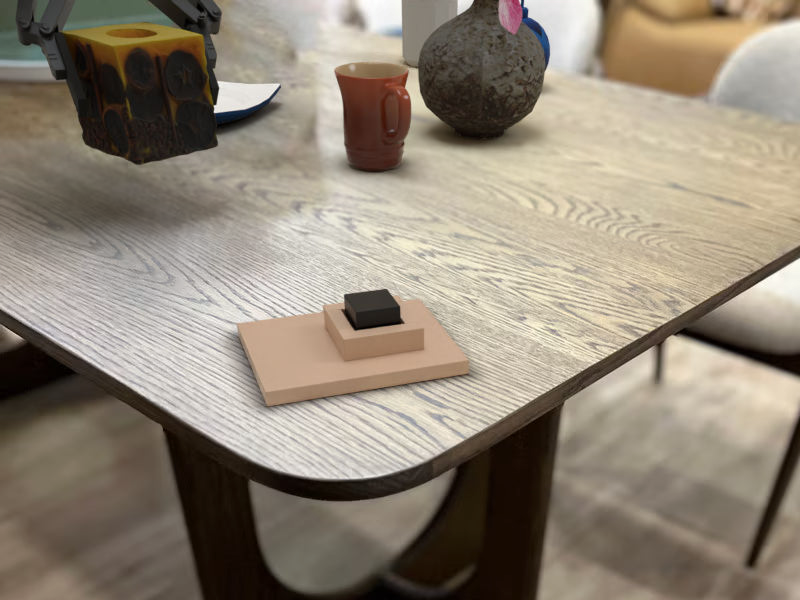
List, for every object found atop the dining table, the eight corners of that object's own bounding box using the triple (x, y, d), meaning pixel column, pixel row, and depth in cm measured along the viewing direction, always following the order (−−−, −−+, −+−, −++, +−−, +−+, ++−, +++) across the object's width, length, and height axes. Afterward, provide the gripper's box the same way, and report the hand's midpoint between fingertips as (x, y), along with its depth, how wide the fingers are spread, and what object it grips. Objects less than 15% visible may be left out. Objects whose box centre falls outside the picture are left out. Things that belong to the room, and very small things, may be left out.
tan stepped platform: (267, 406, 62) (261, 369, 60) (238, 336, 70) (233, 302, 68) (468, 373, 66) (470, 337, 64) (419, 311, 74) (419, 278, 72)
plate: (224, 137, 113) (221, 115, 111) (95, 121, 118) (89, 100, 116) (292, 103, 127) (290, 82, 126) (174, 90, 132) (170, 70, 130)
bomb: (470, 89, 136) (474, -25, 126) (511, 79, 142) (518, -32, 132) (518, 100, 131) (525, -18, 121) (558, 89, 137) (569, -25, 127)
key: (357, 334, 65) (355, 312, 64) (344, 315, 68) (343, 293, 67) (401, 327, 66) (400, 306, 65) (387, 309, 69) (386, 288, 68)
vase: (479, 111, 126) (489, -158, 106) (569, 136, 117) (599, -153, 97) (395, 131, 117) (389, -159, 97) (485, 159, 108) (500, -154, 88)
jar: (407, 70, 146) (405, -62, 133) (398, 58, 153) (395, -68, 140) (462, 68, 147) (465, -62, 135) (450, 57, 154) (453, -68, 142)
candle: (138, 168, 81) (113, 46, 75) (81, 146, 86) (52, 30, 79) (222, 148, 87) (207, 33, 81) (165, 129, 92) (145, 19, 85)
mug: (327, 160, 106) (320, 66, 99) (386, 150, 110) (383, 59, 103) (376, 186, 99) (372, 87, 92) (437, 175, 103) (438, 78, 96)
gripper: (-72, -150, 73) (13, 87, 74) (202, -144, 83) (274, 67, 83) (-55, -78, 80) (22, 138, 81) (195, -80, 90) (262, 114, 90)
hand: (150, 103), depth 82 cm, fingers closed on candle, 12 cm apart
